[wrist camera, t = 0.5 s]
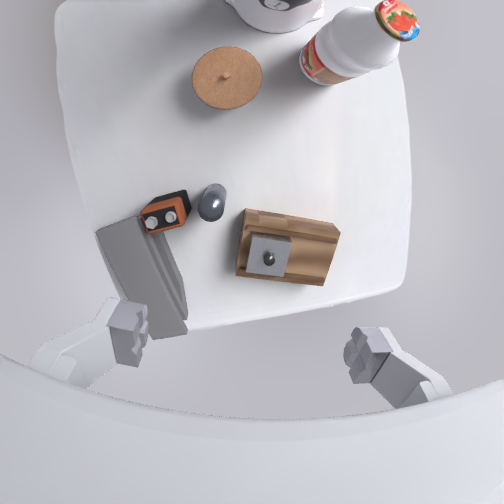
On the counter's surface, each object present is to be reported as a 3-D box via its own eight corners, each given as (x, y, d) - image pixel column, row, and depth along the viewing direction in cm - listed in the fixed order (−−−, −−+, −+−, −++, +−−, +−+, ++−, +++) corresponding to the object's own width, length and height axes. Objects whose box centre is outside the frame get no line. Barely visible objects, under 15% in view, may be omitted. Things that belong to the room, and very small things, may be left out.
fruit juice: (325, 95, 44) (409, 76, 19) (287, 61, 41) (338, 3, 16) (355, 66, 41) (449, 36, 16) (319, 33, 38) (389, -30, 13)
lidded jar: (196, 111, 44) (187, 108, 36) (201, 57, 40) (193, 43, 31) (256, 113, 45) (260, 110, 37) (261, 59, 40) (265, 45, 32)
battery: (154, 197, 51) (137, 213, 42) (186, 188, 51) (175, 203, 42) (160, 217, 53) (145, 237, 44) (192, 209, 52) (183, 228, 43)
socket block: (245, 208, 53) (246, 218, 48) (332, 223, 55) (342, 234, 50) (235, 263, 58) (235, 277, 53) (317, 273, 60) (324, 288, 55)
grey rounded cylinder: (206, 182, 50) (199, 195, 41) (227, 185, 51) (225, 199, 42) (203, 202, 52) (196, 219, 43) (224, 205, 52) (221, 223, 43)
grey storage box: (193, 302, 62) (186, 334, 52) (163, 308, 63) (153, 340, 53) (150, 200, 51) (131, 218, 41) (118, 212, 52) (95, 232, 42)
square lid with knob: (252, 231, 50) (253, 239, 46) (289, 237, 50) (293, 245, 47) (245, 265, 53) (246, 275, 49) (281, 270, 53) (284, 280, 50)
